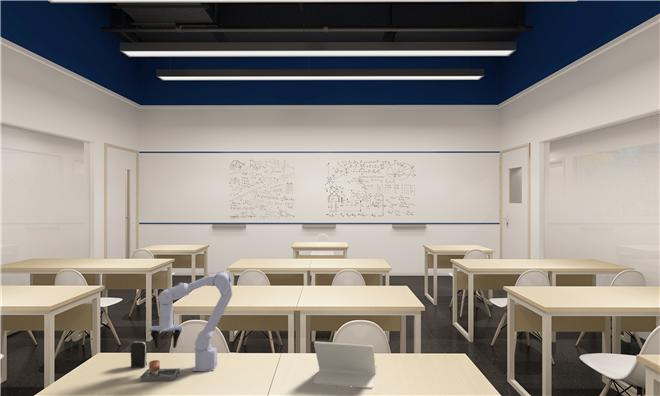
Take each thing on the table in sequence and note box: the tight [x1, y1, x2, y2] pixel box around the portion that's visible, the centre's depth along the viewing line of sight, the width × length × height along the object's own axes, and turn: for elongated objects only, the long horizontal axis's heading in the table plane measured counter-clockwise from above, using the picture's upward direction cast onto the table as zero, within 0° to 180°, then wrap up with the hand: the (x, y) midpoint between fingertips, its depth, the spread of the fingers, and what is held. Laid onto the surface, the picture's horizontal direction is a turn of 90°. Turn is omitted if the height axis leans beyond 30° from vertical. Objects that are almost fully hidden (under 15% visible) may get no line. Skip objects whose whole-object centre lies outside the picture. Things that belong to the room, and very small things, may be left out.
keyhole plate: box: [139, 367, 181, 383], centre depth 179 cm, size 14×8×2 cm, turn 93°
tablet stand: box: [312, 341, 377, 389], centre depth 179 cm, size 18×25×17 cm
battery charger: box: [130, 340, 149, 368], centre depth 192 cm, size 7×4×11 cm, turn 85°
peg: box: [148, 359, 161, 374], centre depth 179 cm, size 4×4×6 cm
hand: (166, 347), depth 186 cm, fingers open, 7 cm apart
